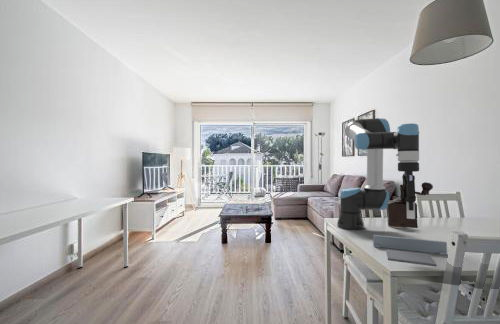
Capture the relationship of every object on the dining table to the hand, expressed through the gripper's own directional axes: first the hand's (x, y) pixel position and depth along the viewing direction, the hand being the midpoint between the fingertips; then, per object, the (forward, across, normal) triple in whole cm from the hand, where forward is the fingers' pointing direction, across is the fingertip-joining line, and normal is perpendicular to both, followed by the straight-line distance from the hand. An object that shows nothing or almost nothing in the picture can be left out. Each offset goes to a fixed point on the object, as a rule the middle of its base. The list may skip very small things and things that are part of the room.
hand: (408, 215), depth 108 cm
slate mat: (+17, 0, 0) cm, 17 cm away
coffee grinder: (+4, 0, 0) cm, 4 cm away
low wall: (+17, -11, +1) cm, 20 cm away
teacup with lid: (+17, -57, +2) cm, 60 cm away
